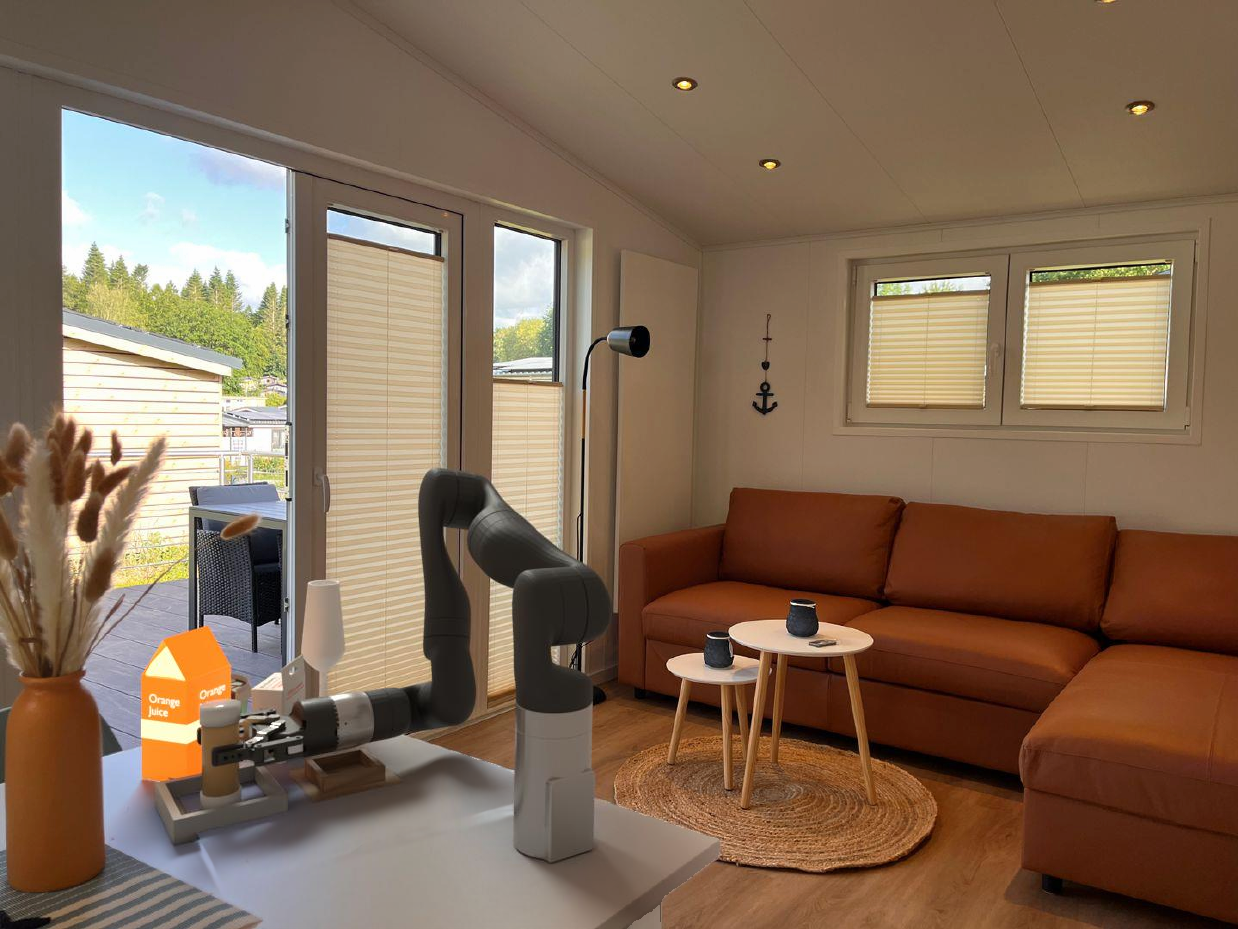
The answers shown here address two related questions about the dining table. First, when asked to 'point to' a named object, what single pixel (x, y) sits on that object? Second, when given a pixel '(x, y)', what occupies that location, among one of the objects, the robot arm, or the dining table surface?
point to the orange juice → (179, 701)
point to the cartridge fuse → (218, 731)
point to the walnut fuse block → (342, 774)
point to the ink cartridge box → (281, 690)
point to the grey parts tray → (188, 825)
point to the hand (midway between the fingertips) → (203, 747)
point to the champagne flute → (323, 629)
